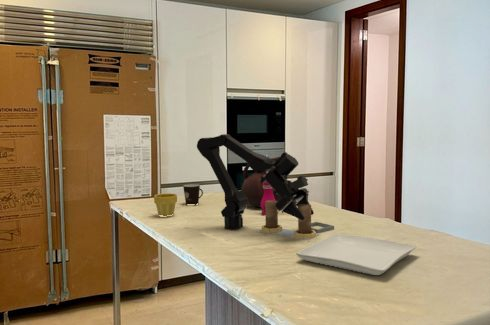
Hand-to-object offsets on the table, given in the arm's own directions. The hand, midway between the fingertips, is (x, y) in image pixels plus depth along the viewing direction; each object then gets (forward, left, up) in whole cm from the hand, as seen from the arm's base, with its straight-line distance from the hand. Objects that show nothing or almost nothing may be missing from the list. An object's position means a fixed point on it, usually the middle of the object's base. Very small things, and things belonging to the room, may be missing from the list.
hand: (308, 216), depth 152 cm
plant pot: (-20, +71, -8) cm, 74 cm away
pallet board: (-2, +8, -8) cm, 12 cm away
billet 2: (-1, +1, -7) cm, 7 cm away
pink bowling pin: (+17, +42, -8) cm, 46 cm away
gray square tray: (+10, +5, -8) cm, 14 cm away
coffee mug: (+3, +86, -8) cm, 87 cm away
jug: (+29, +58, -8) cm, 66 cm away
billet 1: (-4, +15, -7) cm, 17 cm away
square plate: (-5, -25, -9) cm, 27 cm away
